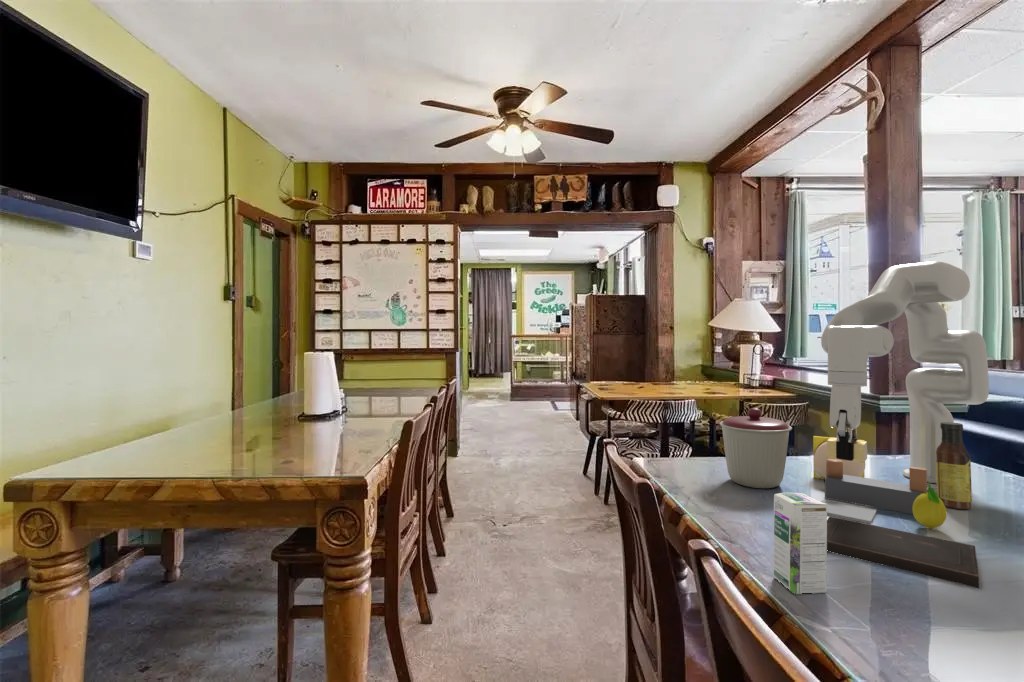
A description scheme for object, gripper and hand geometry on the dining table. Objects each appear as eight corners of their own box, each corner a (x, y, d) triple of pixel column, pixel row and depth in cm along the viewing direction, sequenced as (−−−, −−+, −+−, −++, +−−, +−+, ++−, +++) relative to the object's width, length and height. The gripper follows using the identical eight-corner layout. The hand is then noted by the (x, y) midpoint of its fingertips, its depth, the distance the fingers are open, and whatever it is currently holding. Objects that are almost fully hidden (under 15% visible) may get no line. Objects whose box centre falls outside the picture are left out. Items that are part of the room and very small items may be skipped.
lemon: (939, 537, 99) (939, 488, 99) (905, 527, 104) (905, 480, 104) (955, 531, 102) (955, 483, 102) (921, 521, 107) (921, 476, 107)
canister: (793, 480, 139) (793, 406, 139) (790, 497, 124) (790, 415, 123) (725, 471, 148) (725, 402, 148) (714, 486, 133) (714, 409, 133)
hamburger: (813, 482, 136) (813, 439, 136) (813, 475, 144) (813, 434, 143) (866, 489, 130) (866, 444, 130) (863, 481, 137) (863, 438, 137)
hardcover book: (829, 526, 106) (829, 516, 106) (974, 557, 91) (974, 545, 91) (814, 551, 94) (814, 539, 94) (978, 591, 79) (978, 577, 79)
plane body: (829, 491, 129) (829, 453, 129) (930, 509, 115) (930, 466, 115) (823, 497, 124) (823, 458, 123) (928, 517, 110) (928, 472, 110)
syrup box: (771, 577, 83) (771, 492, 83) (804, 576, 83) (804, 491, 83) (793, 595, 77) (793, 504, 77) (829, 593, 78) (828, 502, 77)
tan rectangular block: (831, 453, 117) (831, 437, 117) (867, 458, 112) (867, 441, 112) (827, 457, 113) (827, 440, 113) (863, 462, 109) (863, 444, 109)
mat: (826, 502, 120) (826, 499, 120) (877, 511, 113) (877, 509, 113) (817, 513, 113) (817, 510, 113) (871, 524, 106) (871, 521, 106)
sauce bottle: (978, 511, 113) (978, 426, 113) (947, 509, 114) (947, 425, 114) (959, 502, 119) (958, 421, 119) (929, 500, 121) (929, 420, 121)
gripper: (834, 376, 122) (834, 448, 122) (820, 380, 109) (820, 461, 109) (872, 377, 117) (872, 453, 117) (860, 382, 104) (860, 467, 104)
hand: (846, 456), depth 113 cm, fingers closed on tan rectangular block, 5 cm apart
